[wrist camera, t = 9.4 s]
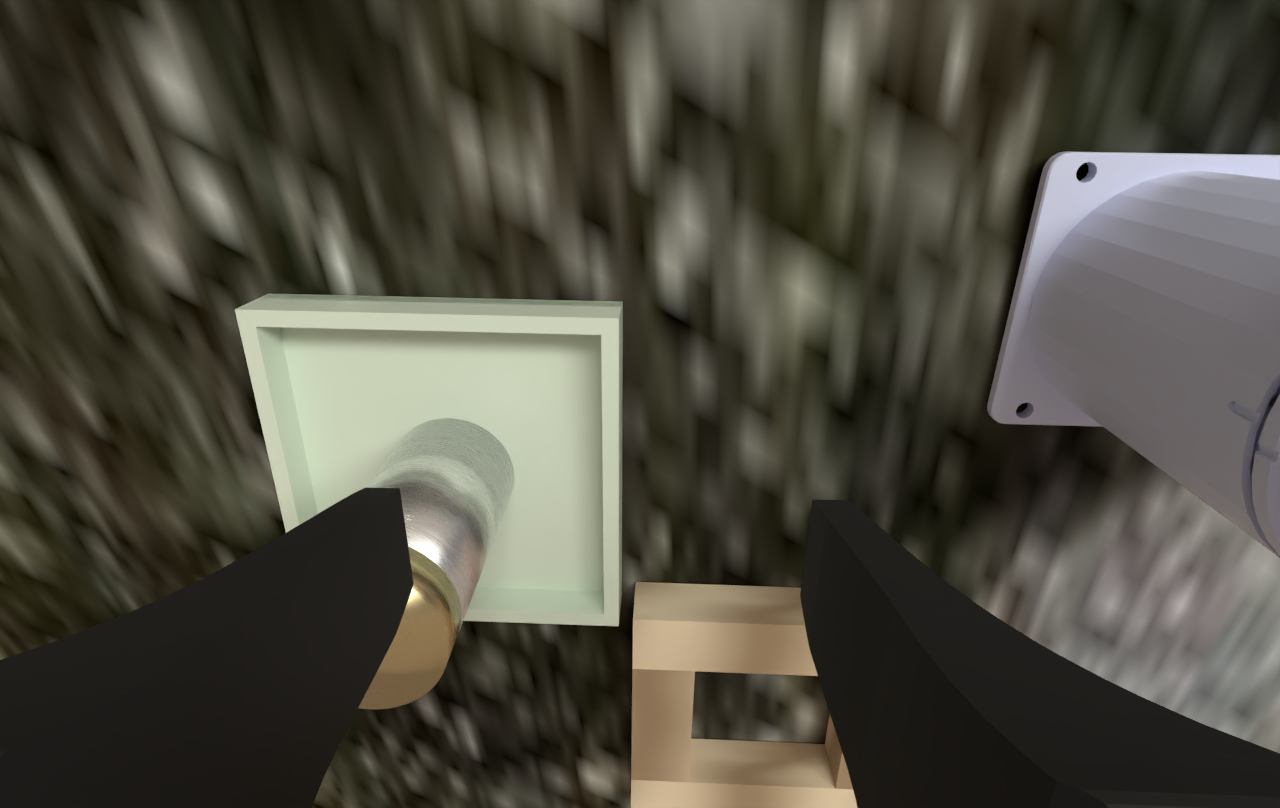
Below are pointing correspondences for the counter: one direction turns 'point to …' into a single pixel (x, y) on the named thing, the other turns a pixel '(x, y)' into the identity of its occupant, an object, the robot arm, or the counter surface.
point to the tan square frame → (664, 689)
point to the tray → (468, 390)
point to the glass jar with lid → (439, 545)
